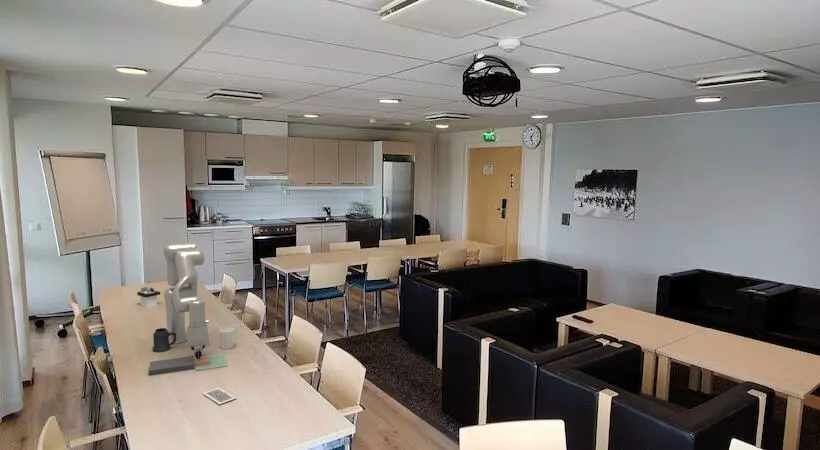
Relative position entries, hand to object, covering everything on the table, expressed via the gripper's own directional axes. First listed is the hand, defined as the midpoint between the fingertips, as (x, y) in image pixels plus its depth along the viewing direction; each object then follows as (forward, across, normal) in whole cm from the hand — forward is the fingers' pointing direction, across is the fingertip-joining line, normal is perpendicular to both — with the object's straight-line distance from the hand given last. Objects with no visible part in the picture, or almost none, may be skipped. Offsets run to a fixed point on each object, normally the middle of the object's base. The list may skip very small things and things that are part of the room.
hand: (198, 358), depth 245 cm
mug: (+3, +16, -30) cm, 34 cm away
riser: (+3, +12, 0) cm, 13 cm away
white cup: (+3, -16, -20) cm, 26 cm away
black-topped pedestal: (+4, +29, -130) cm, 133 cm away
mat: (+3, -6, 0) cm, 6 cm away
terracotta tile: (+3, -1, 0) cm, 3 cm away
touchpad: (+4, -7, +42) cm, 43 cm away
